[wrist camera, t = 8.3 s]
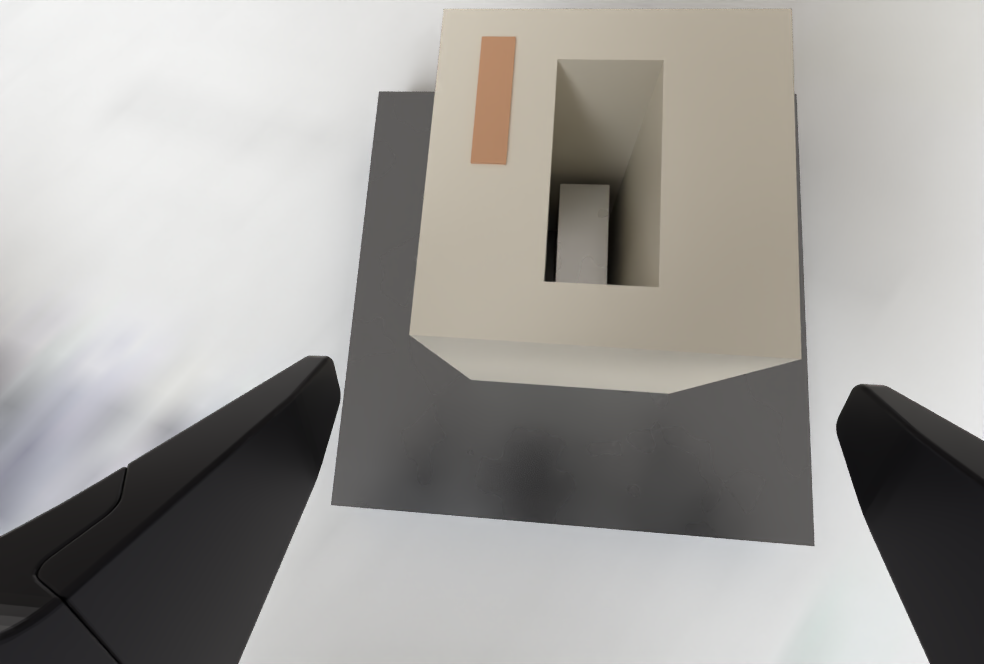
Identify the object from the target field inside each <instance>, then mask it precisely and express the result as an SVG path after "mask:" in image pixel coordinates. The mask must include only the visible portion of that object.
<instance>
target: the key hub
mask: <svg viewBox="0 0 984 664" xmlns="http://www.w3.org/2000/svg"><path fill="white" fill-rule="evenodd" d="M434 96H435V92H379V97H378V105H377V114H376V122H375V131H374V140H373V148H372V157H371V165H370V174H369V183H368V191H367V200H366V209H365V217H364V226H363V234H362V243H361V252H360V260H359V269H358V277H357V286H356V295H355V303H354V312H353V320H352V329H351V338H350V346H349V355H348V364H347V372H346V381H345V389H344V398H343V407H342V415H341V424H340V432H339V441H338V450H337V458H336V467H335V476H334V484H333V493H332V501H331V505H337V506H349V507H361V508H372V509H384V510H396V511H408V512H419V513H431V514H443V515H455V516H466V517H478V518H490V519H502V520H513V521H525V522H537V523H549V524H560V525H572V526H584V527H596V528H607V529H619V530H631V531H643V532H654V533H666V534H678V535H690V536H702V537H713V538H725V539H737V540H749V541H760V542H772V543H784V544H796V545H807V546H814V523H813V498H812V473H811V448H810V423H809V398H808V373H807V349H806V324H805V299H804V274H803V249H802V224H801V199H800V174H799V149H798V124H797V99H796V94H794V106H795V143H796V179H797V215H798V251H799V287H800V323H801V359H800V360H796V361H793V362H789V363H785V364H781V365H777V366H773V367H770V368H766V369H762V370H758V371H754V372H750V373H747V374H743V375H739V376H735V377H731V378H727V379H724V380H720V381H716V382H712V383H708V384H704V385H701V386H697V387H693V388H689V389H685V390H681V391H677V392H674V393H670V394H665V393H651V392H637V391H622V390H608V389H594V388H579V387H565V386H551V385H536V384H522V383H508V382H493V381H479V380H471V379H469V378H468V377H466V376H465V375H464V374H462V373H461V372H460V371H458V370H457V369H455V368H454V367H453V366H451V365H450V364H449V363H447V362H446V361H444V360H443V359H442V358H440V357H439V356H438V355H436V354H435V353H433V352H432V351H431V350H429V349H428V348H427V347H425V346H424V345H422V344H421V343H420V342H418V341H417V340H416V339H414V338H413V337H411V336H410V335H409V332H410V322H411V313H412V303H413V294H414V284H415V275H416V266H417V256H418V247H419V237H420V228H421V218H422V209H423V200H424V190H425V181H426V171H427V162H428V152H429V143H430V134H431V124H432V115H433V105H434ZM609 188H610V185H596V184H560V192H559V203H558V213H557V224H556V231H548V240H547V256H546V273H545V282H564V283H584V284H604V285H607V257H608V222H609Z"/></svg>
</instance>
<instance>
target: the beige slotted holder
mask: <svg viewBox="0 0 984 664" xmlns="http://www.w3.org/2000/svg"><path fill="white" fill-rule="evenodd" d="M560 184H596V185H610V188H609V222H608V257H607V285H604V284H584V283H564V282H545V273H546V256H547V240H548V231H556V224H557V213H558V203H559V192H560ZM409 335H410V336H411V337H413V338H414V339H416V340H417V341H418V342H420V343H421V344H422V345H424V346H425V347H427V348H428V349H429V350H431V351H432V352H433V353H435V354H436V355H438V356H439V357H440V358H442V359H443V360H444V361H446V362H447V363H449V364H450V365H451V366H453V367H454V368H455V369H457V370H458V371H460V372H461V373H462V374H464V375H465V376H466V377H468V378H469V379H471V380H479V381H493V382H508V383H522V384H536V385H551V386H565V387H579V388H594V389H608V390H622V391H637V392H651V393H665V394H670V393H674V392H677V391H681V390H685V389H689V388H693V387H697V386H701V385H704V384H708V383H712V382H716V381H720V380H724V379H727V378H731V377H735V376H739V375H743V374H747V373H750V372H754V371H758V370H762V369H766V368H770V367H773V366H777V365H781V364H785V363H789V362H793V361H796V360H800V359H801V323H800V287H799V251H798V215H797V179H796V143H795V106H794V70H793V34H792V9H444V11H443V21H442V30H441V39H440V49H439V58H438V68H437V77H436V87H435V96H434V105H433V115H432V124H431V134H430V143H429V152H428V162H427V171H426V181H425V190H424V200H423V209H422V218H421V228H420V237H419V247H418V256H417V266H416V275H415V284H414V294H413V303H412V313H411V322H410V332H409Z"/></svg>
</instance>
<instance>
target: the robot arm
mask: <svg viewBox="0 0 984 664" xmlns="http://www.w3.org/2000/svg"><path fill="white" fill-rule="evenodd" d="M339 404H340V388H339V384H338V379H337V375H336V371H335V366H334V363H333V361H332V359H331V358H330V357H328V356H307V357H305V358H303V359H302V360H300V361H298V362H297V363H295V364H293V365H292V366H290V367H288V368H287V369H285V370H283V371H282V372H280V373H278V374H277V375H275V376H273V377H272V378H270V379H268V380H267V381H265V382H263V383H262V384H260V385H258V386H257V387H255V388H254V389H252V390H250V391H249V392H247V393H245V394H244V395H242V396H240V397H239V398H237V399H235V400H234V401H232V402H230V403H229V404H227V405H225V406H224V407H222V408H220V409H219V410H217V411H215V412H214V413H212V414H210V415H209V416H207V417H205V418H204V419H202V420H200V421H199V422H197V423H195V424H194V425H192V426H191V427H189V428H187V429H186V430H184V431H182V432H181V433H179V434H177V435H176V436H174V437H172V438H171V439H169V440H167V441H166V442H164V443H162V444H161V445H159V446H157V447H156V448H154V449H152V450H151V451H149V452H147V453H146V454H144V455H142V456H141V457H139V458H137V459H136V460H134V461H132V462H131V463H129V464H128V466H127V467H122V468H121V469H119V470H117V471H116V472H114V473H112V474H111V475H109V476H107V477H106V478H104V479H103V480H101V481H99V482H97V483H96V484H94V485H92V486H91V487H89V488H87V489H85V490H84V491H82V492H80V493H79V494H77V495H75V496H73V497H72V498H70V499H68V500H67V501H65V502H63V503H61V504H60V505H58V506H56V507H54V508H52V509H50V510H49V511H47V512H45V513H43V514H41V515H39V516H37V517H36V518H34V519H32V520H30V521H28V522H26V523H25V524H23V525H21V526H19V527H17V528H15V529H13V530H12V531H10V532H8V533H6V534H4V535H2V536H0V664H238V663H239V661H240V658H241V656H242V654H243V651H244V649H245V647H246V644H247V642H248V640H249V637H250V635H251V633H252V630H253V628H254V626H255V623H256V621H257V619H258V616H259V614H260V612H261V609H262V607H263V604H264V602H265V600H266V597H267V595H268V593H269V590H270V588H271V586H272V583H273V581H274V579H275V576H276V574H277V572H278V569H279V567H280V565H281V562H282V560H283V558H284V555H285V553H286V551H287V548H288V546H289V543H290V541H291V539H292V536H293V534H294V532H295V529H296V527H297V525H298V522H299V520H300V518H301V515H302V513H303V511H304V508H305V506H306V504H307V501H308V499H309V497H310V494H311V492H312V490H313V487H314V485H315V482H316V480H317V477H318V474H319V471H320V468H321V465H322V462H323V458H324V455H325V452H326V448H327V445H328V441H329V438H330V435H331V431H332V428H333V424H334V421H335V418H336V414H337V411H338V407H339ZM836 431H837V436H838V439H839V442H840V445H841V448H842V452H843V455H844V458H845V461H846V464H847V467H848V470H849V473H850V477H851V480H852V483H853V486H854V489H855V492H856V495H857V498H858V501H859V504H860V507H861V510H862V513H863V515H864V518H865V520H866V523H867V525H868V527H869V530H870V532H871V534H872V536H873V539H874V541H875V543H876V545H877V548H878V550H879V552H880V554H881V556H882V559H883V561H884V563H885V565H886V567H887V570H888V572H889V574H890V576H891V579H892V581H893V583H894V585H895V587H896V590H897V592H898V594H899V596H900V599H901V601H902V603H903V605H904V607H905V610H906V612H907V614H908V616H909V618H910V621H911V623H912V625H913V627H914V630H915V632H916V634H917V636H918V638H919V641H920V643H921V645H922V647H923V650H924V652H925V654H926V656H927V658H928V661H929V663H930V664H984V441H983V440H981V439H980V438H978V437H976V436H974V435H973V434H971V433H969V432H967V431H965V430H964V429H962V428H960V427H958V426H957V425H955V424H953V423H951V422H950V421H948V420H946V419H944V418H942V417H941V416H939V415H937V414H935V413H934V412H932V411H930V410H928V409H927V408H925V407H923V406H921V405H919V404H918V403H916V402H914V401H912V400H911V399H909V398H907V397H905V396H904V395H902V394H900V393H898V392H897V391H895V390H893V389H891V388H889V387H887V386H884V385H871V384H860V385H857V386H855V387H854V388H853V389H852V391H851V393H850V395H849V397H848V399H847V401H846V403H845V405H844V407H843V409H842V411H841V413H840V415H839V417H838V420H837V424H836Z"/></svg>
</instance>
